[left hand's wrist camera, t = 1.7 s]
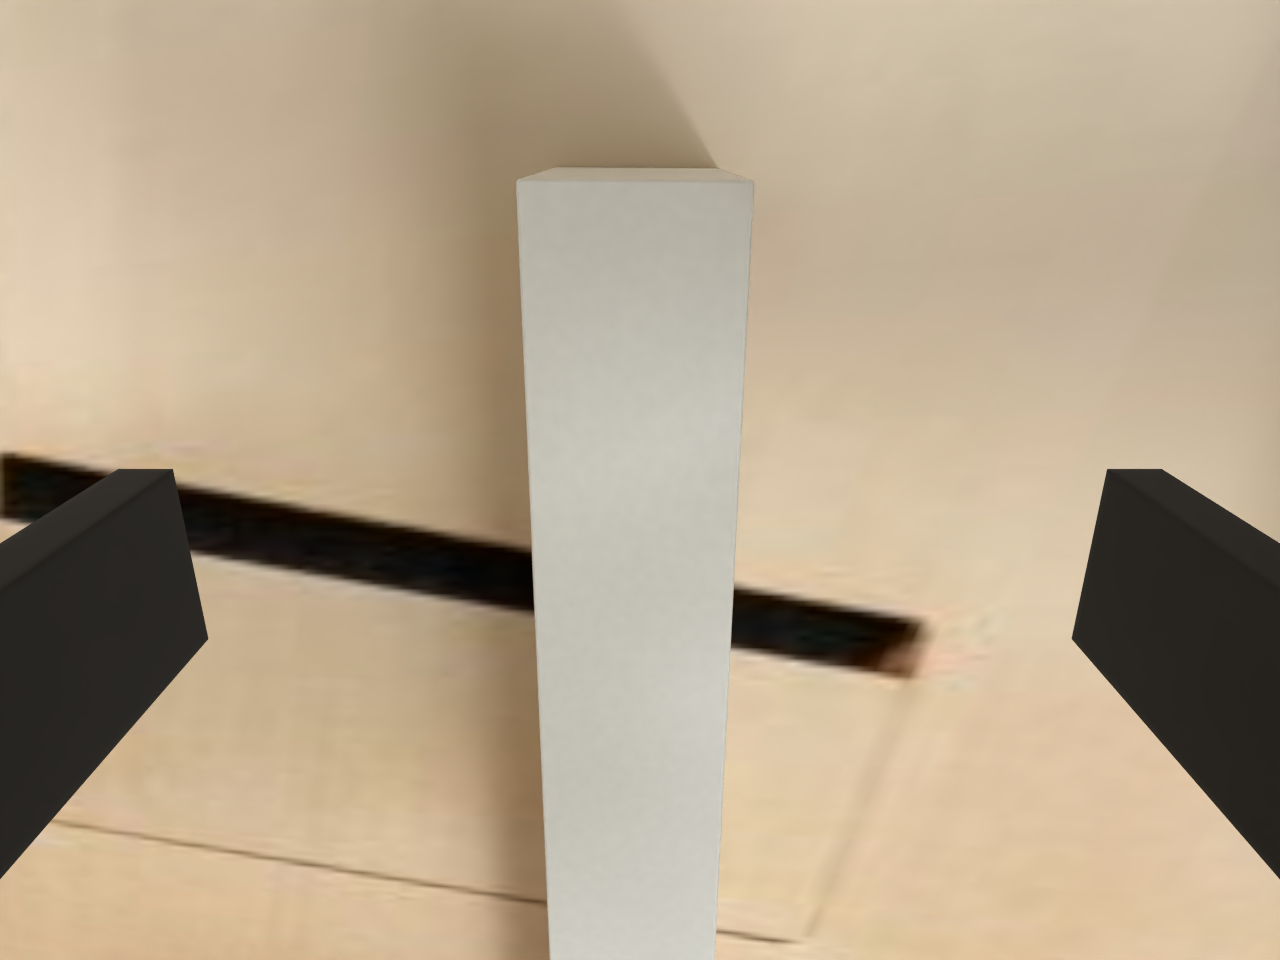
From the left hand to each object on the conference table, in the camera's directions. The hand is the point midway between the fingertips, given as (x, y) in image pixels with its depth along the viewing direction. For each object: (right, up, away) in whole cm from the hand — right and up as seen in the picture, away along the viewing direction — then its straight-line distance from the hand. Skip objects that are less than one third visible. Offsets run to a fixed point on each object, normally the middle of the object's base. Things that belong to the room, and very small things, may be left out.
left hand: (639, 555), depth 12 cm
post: (0, -17, +23) cm, 28 cm away
